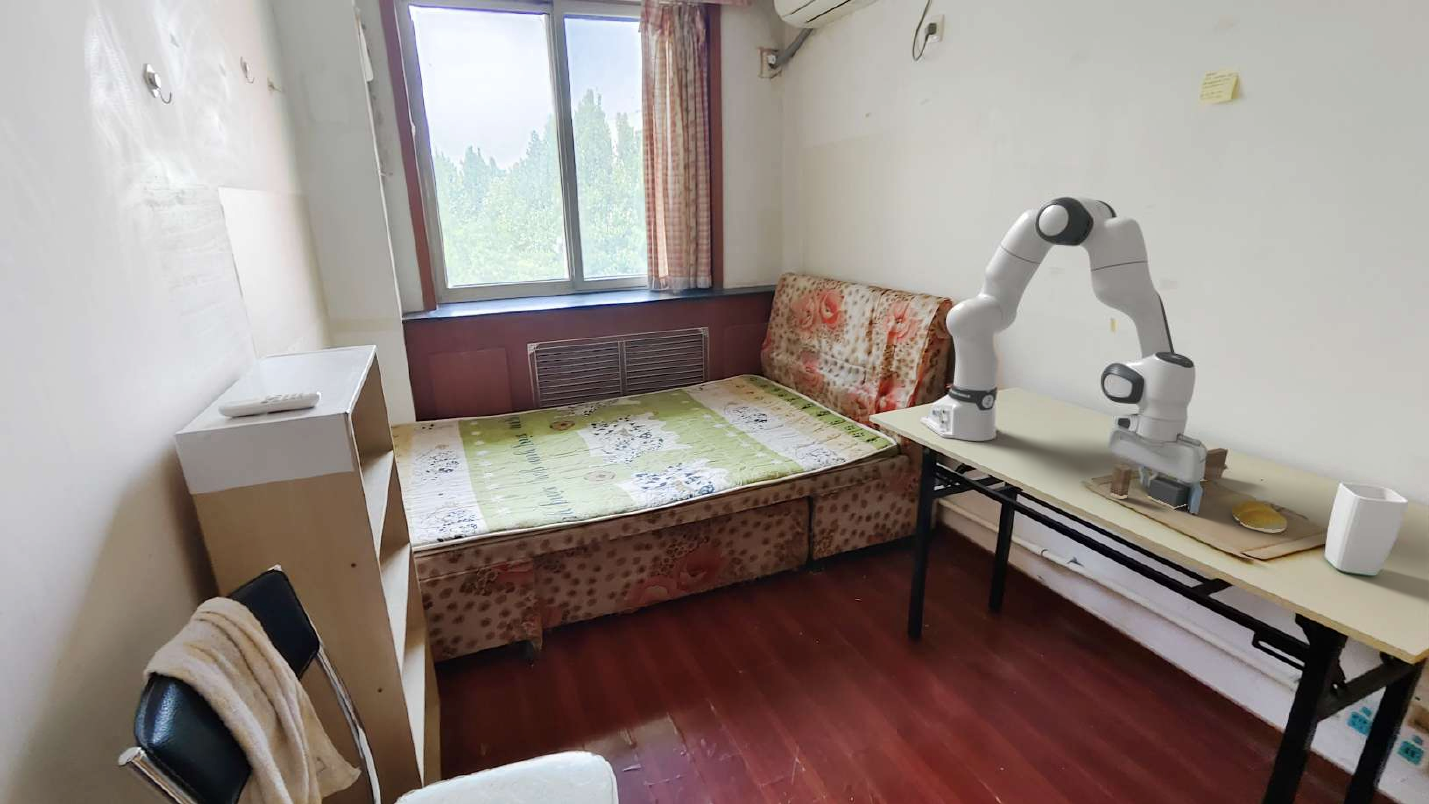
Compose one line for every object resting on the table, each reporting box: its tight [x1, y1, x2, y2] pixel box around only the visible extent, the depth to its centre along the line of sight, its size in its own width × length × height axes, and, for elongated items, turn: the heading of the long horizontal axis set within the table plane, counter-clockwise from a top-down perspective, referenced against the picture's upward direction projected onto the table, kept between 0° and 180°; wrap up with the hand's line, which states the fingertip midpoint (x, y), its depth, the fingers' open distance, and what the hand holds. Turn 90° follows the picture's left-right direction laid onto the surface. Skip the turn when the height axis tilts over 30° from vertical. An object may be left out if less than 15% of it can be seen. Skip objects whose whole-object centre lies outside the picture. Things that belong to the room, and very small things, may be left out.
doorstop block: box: [1146, 476, 1190, 507], centre depth 140 cm, size 6×4×4 cm, turn 22°
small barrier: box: [1109, 447, 1229, 496], centre depth 147 cm, size 2×33×7 cm, turn 109°
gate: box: [1176, 479, 1203, 513], centre depth 141 cm, size 1×17×6 cm, turn 153°
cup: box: [1324, 482, 1410, 577], centre depth 112 cm, size 7×7×15 cm
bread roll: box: [1231, 501, 1288, 530], centre depth 130 cm, size 8×9×4 cm
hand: (1147, 485), depth 144 cm, fingers closed
